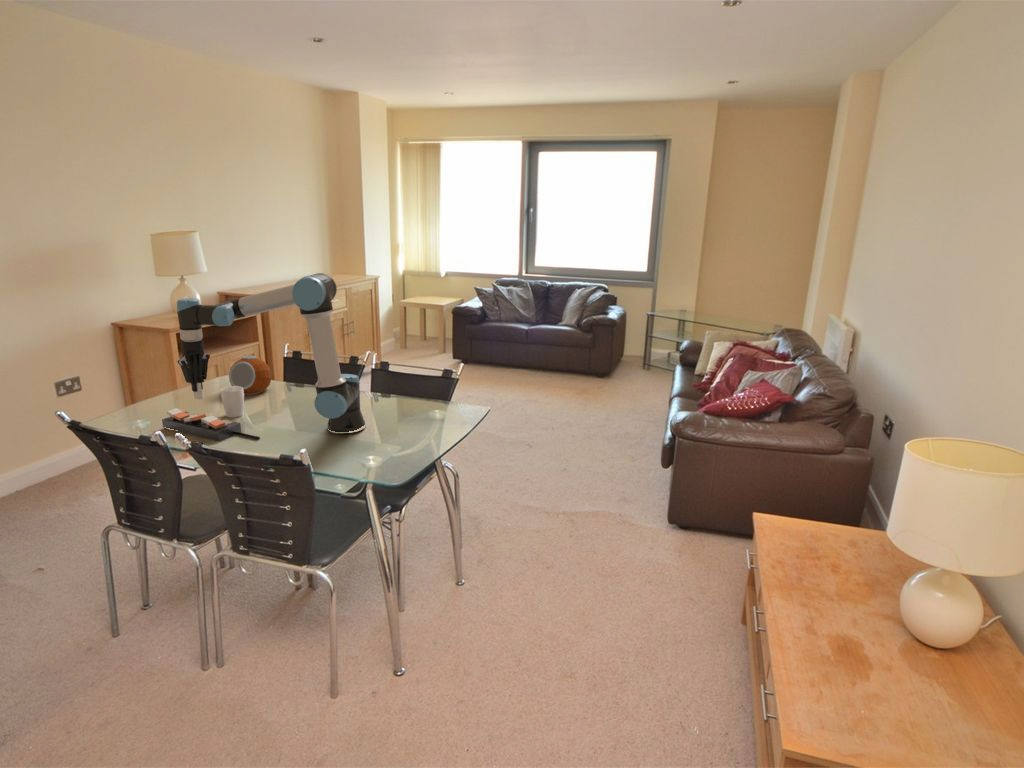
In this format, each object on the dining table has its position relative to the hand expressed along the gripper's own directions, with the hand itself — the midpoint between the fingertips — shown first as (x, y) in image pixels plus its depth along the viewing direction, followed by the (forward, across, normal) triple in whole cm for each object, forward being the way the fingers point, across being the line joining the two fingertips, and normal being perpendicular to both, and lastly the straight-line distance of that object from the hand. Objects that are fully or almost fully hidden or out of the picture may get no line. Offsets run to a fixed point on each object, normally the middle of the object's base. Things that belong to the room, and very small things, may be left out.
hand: (198, 398), depth 234 cm
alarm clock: (+15, -52, -26) cm, 60 cm away
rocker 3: (+9, 0, +6) cm, 11 cm away
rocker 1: (+9, 0, -13) cm, 16 cm away
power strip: (+15, -3, +3) cm, 15 cm away
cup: (+15, -22, -6) cm, 27 cm away
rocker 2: (+9, 0, -3) cm, 10 cm away
